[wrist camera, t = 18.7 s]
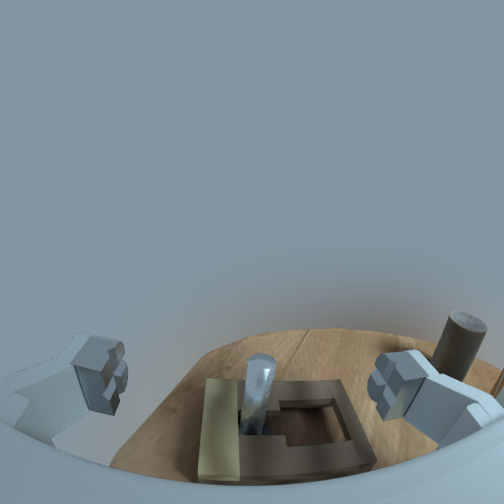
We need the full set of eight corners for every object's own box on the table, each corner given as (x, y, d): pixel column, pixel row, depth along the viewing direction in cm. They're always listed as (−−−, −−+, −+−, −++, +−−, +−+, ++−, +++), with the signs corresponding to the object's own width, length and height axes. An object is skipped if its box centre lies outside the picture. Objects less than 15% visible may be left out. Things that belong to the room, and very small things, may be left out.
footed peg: (268, 425, 35) (285, 346, 31) (272, 456, 30) (295, 380, 26) (226, 424, 35) (233, 344, 31) (226, 456, 29) (234, 378, 25)
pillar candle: (453, 395, 39) (487, 330, 35) (418, 375, 47) (446, 311, 43) (465, 375, 44) (493, 317, 40) (434, 358, 52) (457, 301, 48)
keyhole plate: (332, 398, 42) (340, 379, 40) (363, 477, 25) (377, 460, 24) (206, 397, 40) (206, 378, 39) (199, 488, 24) (197, 473, 22)
